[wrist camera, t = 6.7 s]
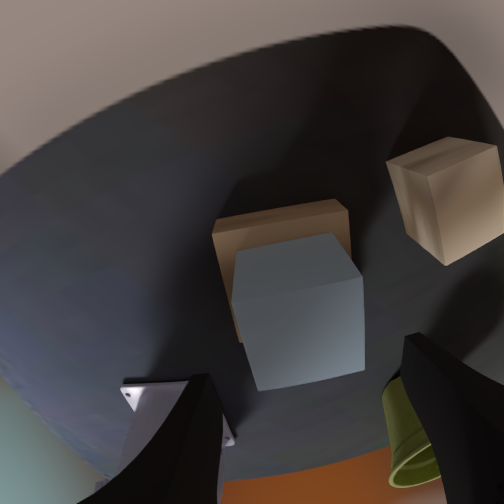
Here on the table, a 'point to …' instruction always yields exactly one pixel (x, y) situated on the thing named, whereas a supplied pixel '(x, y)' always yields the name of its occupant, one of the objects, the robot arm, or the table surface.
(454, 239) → the beech cube
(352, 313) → the grey cube
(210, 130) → the table surface
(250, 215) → the oak block
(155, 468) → the robot arm
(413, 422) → the plant pot
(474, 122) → the table surface
